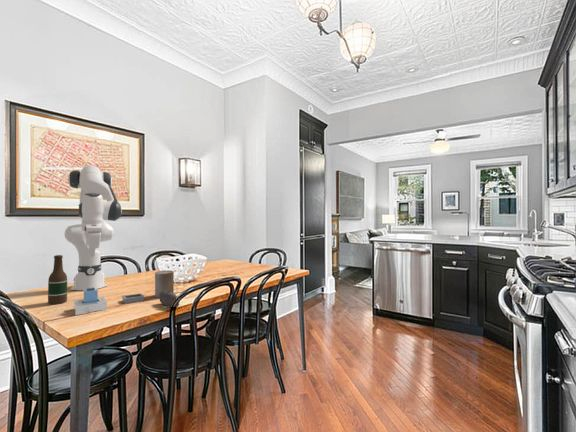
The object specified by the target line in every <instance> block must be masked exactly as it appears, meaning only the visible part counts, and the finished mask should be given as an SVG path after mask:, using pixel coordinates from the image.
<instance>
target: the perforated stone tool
mask: <svg viewBox="0 0 576 432" xmlns="http://www.w3.org/2000/svg"><path fill="white" fill-rule="evenodd" d="M176 297H178V295H176V294H175V293H174V292H173V293H172V292H170V291H167V290H164V291H162V292H161V293H160V298H158V299H159V302H160V303H161V304H162V305H163V306H166V307H168V308H171V306H172V304H173V302H174V300H175V299H176ZM179 306H180V301H179V302H178V304H177V305H176V308H175V309H177V308H178V307H179Z"/></svg>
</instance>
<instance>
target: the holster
mask: <svg viewBox="0 0 576 432" xmlns="http://www.w3.org/2000/svg"><path fill="white" fill-rule="evenodd" d="M122 302H123V303H124V304H125V305H127V304H132V303H141V302H145V295H143V293H135V294H134V293H133V294H125V295H122Z"/></svg>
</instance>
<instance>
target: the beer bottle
mask: <svg viewBox="0 0 576 432" xmlns="http://www.w3.org/2000/svg"><path fill="white" fill-rule="evenodd" d="M63 258H64V257H63V255H62V254H56V255H54V256H53V270H52V272H51V273H50V275H49V276H48V281H47V282H48V287H47V290H48V291H47V303H48V305H52V306H53V305H55V306H57V305H61V304H64V303H66V302H67V301H68V276H67V274H66V272H65V271H64V266H63V265H64V264H63Z"/></svg>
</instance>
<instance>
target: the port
mask: <svg viewBox="0 0 576 432" xmlns="http://www.w3.org/2000/svg"><path fill="white" fill-rule="evenodd" d="M107 304H108V302H107V300H106V298H105V296H97V302H90V303H84V298H81V299H75V300H73V310H74V315H75V316H80V315H85V314H90V313H93V312H99V311H100V312H101V311H107V309H108V305H107Z"/></svg>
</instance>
